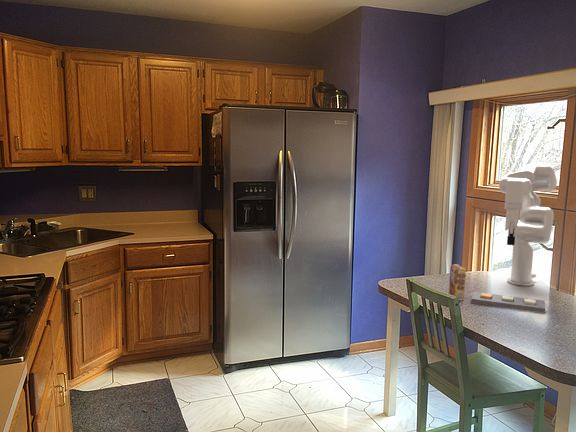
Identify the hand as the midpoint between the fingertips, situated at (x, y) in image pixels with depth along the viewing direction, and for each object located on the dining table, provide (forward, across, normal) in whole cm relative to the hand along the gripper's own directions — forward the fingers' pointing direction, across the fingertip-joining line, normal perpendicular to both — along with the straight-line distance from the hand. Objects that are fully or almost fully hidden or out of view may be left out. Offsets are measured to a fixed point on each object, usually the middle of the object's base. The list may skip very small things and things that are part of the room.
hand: (510, 244), depth 225 cm
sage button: (+24, +13, +1) cm, 27 cm away
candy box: (+25, +14, -21) cm, 36 cm away
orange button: (+24, +13, -8) cm, 29 cm away
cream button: (+24, +13, +10) cm, 29 cm away
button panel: (+25, +13, +1) cm, 28 cm away
